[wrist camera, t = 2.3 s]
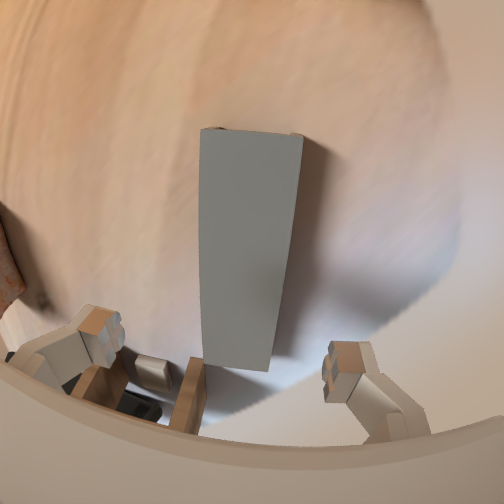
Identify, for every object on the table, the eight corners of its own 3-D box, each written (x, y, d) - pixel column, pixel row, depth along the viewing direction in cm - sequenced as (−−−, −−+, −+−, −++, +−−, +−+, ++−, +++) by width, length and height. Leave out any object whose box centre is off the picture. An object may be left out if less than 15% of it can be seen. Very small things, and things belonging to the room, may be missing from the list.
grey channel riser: (212, 126, 18) (200, 129, 15) (299, 133, 18) (303, 137, 15) (209, 341, 27) (203, 363, 25) (269, 349, 27) (267, 371, 24)
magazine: (162, 455, 26) (-18, 420, 20) (165, 463, 28) (-8, 430, 21) (160, 357, 41) (10, 344, 34) (162, 369, 43) (17, 356, 36)
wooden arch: (104, 337, 29) (65, 404, 20) (203, 359, 29) (180, 443, 20) (120, 377, 33) (91, 437, 24) (206, 397, 33) (190, 467, 23)
